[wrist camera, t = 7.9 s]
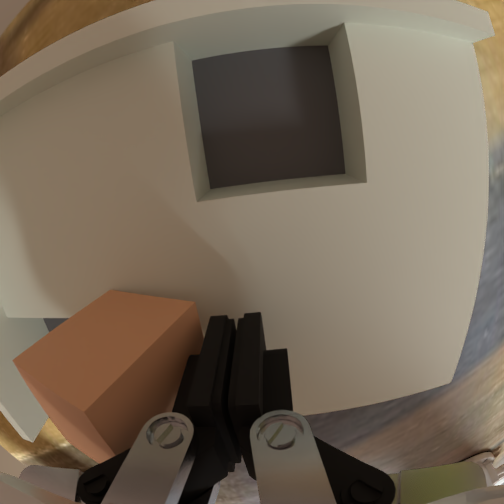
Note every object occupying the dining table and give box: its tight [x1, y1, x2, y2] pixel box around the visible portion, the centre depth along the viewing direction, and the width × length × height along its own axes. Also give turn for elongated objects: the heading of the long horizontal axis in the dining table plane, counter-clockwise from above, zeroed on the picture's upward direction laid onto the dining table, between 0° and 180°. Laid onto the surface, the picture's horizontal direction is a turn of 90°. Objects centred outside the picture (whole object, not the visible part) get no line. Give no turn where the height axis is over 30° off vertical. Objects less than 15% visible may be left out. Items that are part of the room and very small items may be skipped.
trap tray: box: [0, 0, 495, 442], centre depth 10 cm, size 24×17×6 cm
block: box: [12, 290, 204, 464], centre depth 9 cm, size 4×4×5 cm
